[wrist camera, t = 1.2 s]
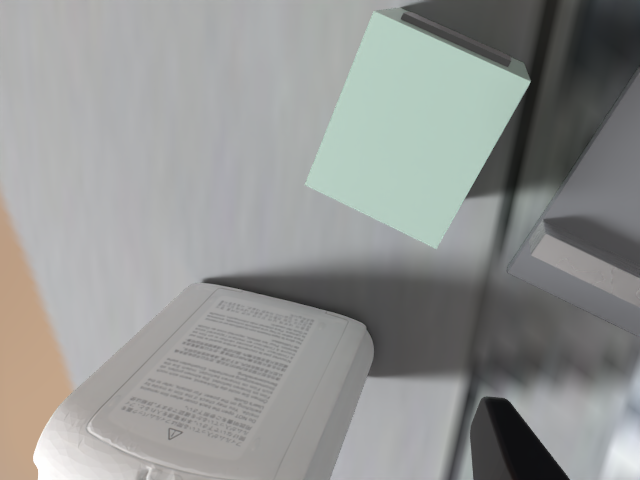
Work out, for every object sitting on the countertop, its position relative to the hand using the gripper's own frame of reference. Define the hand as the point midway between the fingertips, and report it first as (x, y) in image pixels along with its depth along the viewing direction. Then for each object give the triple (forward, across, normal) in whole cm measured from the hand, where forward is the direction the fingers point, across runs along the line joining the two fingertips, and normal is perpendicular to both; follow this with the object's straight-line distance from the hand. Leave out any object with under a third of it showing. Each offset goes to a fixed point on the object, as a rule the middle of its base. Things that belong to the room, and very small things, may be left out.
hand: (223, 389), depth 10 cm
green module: (+15, -5, +1) cm, 16 cm away
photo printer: (+14, 0, +13) cm, 19 cm away
